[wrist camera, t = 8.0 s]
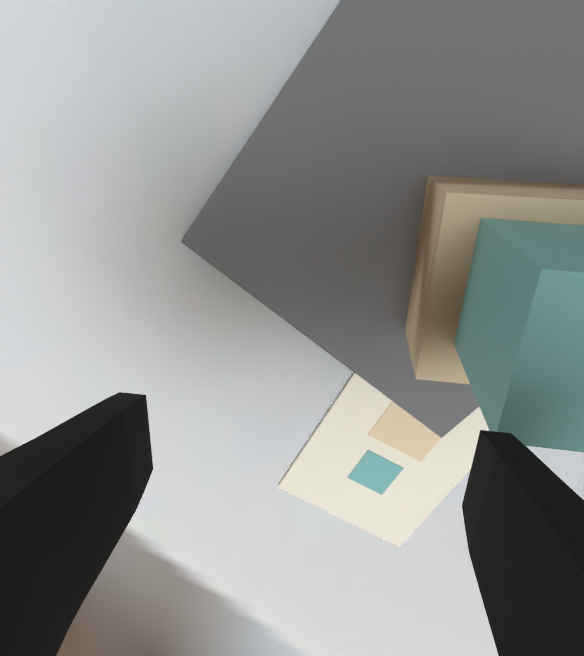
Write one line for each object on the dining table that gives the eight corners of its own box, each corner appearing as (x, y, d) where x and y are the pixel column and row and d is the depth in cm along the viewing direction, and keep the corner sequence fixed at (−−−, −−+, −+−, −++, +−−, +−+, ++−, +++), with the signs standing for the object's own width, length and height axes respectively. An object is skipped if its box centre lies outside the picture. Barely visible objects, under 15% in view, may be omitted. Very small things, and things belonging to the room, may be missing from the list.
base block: (428, 175, 17) (446, 192, 14) (606, 185, 17) (676, 205, 13) (405, 330, 20) (415, 378, 16) (559, 343, 19) (607, 397, 15)
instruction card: (385, 326, 20) (385, 328, 20) (527, 402, 21) (529, 405, 20) (278, 484, 24) (277, 488, 24) (399, 544, 25) (399, 548, 25)
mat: (604, -391, 12) (612, -407, 11) (939, 8, 14) (954, 5, 14) (184, 239, 20) (180, 241, 19) (440, 432, 22) (441, 438, 21)
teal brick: (480, 217, 14) (540, 269, 9) (630, 228, 13) (770, 288, 9) (453, 344, 15) (493, 441, 11) (586, 357, 15) (685, 464, 10)
